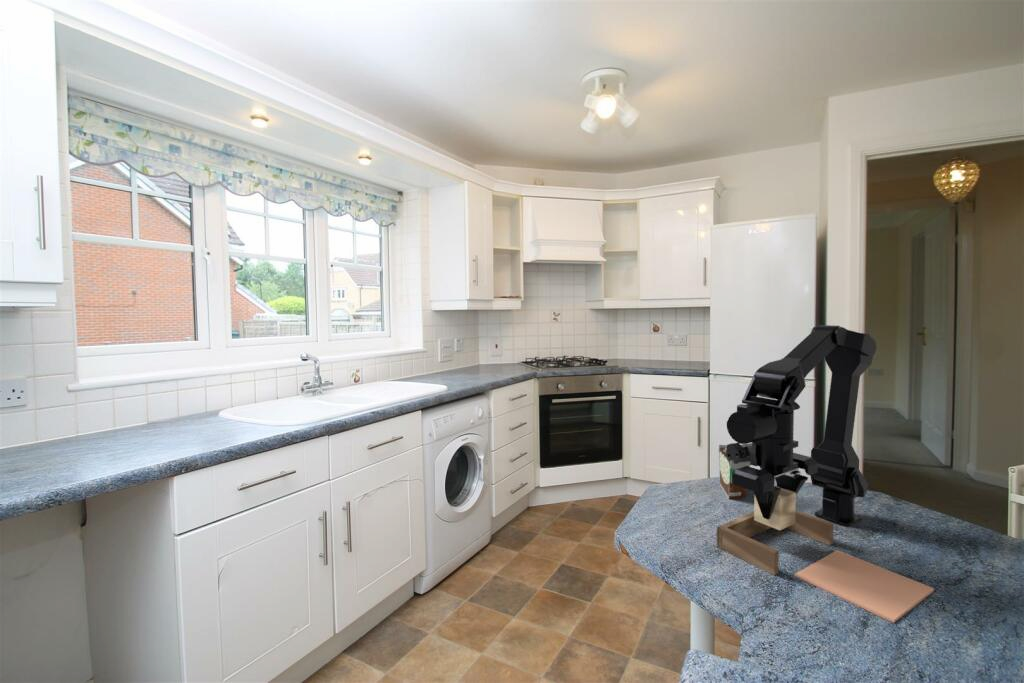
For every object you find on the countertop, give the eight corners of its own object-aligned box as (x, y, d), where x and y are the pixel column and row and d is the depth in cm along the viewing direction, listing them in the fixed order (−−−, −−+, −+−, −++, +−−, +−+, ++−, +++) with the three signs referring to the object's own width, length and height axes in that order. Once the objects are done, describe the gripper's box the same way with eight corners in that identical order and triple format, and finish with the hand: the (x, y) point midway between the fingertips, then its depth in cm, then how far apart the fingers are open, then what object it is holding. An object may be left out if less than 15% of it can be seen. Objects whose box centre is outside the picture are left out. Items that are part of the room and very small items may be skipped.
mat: (837, 552, 87) (837, 550, 87) (933, 590, 75) (934, 588, 75) (794, 576, 80) (794, 573, 80) (893, 622, 68) (893, 620, 68)
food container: (758, 503, 109) (759, 460, 108) (730, 501, 110) (730, 459, 109) (744, 483, 121) (744, 444, 120) (718, 481, 122) (718, 444, 121)
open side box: (775, 521, 100) (775, 502, 100) (833, 543, 90) (833, 523, 90) (716, 547, 90) (716, 526, 90) (774, 575, 81) (774, 552, 80)
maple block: (769, 513, 93) (769, 484, 93) (795, 523, 89) (795, 492, 89) (754, 520, 91) (754, 489, 90) (779, 530, 87) (780, 498, 86)
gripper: (764, 418, 100) (763, 490, 102) (706, 433, 91) (706, 511, 92) (820, 430, 91) (818, 508, 92) (761, 447, 81) (760, 534, 83)
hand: (774, 514), depth 90 cm, fingers closed on maple block, 5 cm apart
